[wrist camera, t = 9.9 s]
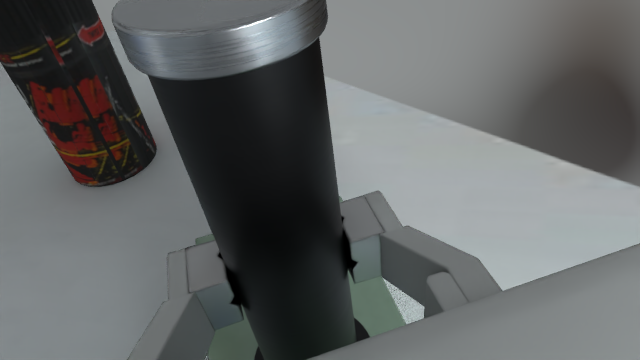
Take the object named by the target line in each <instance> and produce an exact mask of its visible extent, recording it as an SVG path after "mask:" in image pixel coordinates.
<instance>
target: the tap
mask: <svg viewBox="0 0 640 360" xmlns="http://www.w3.org/2000/svg"><path fill="white" fill-rule="evenodd" d="M327 19H328V13H327V4H326V0H120V1H119V2H118V3H117V4H116V5H115V7H114V8H113V11H112V23H113V25H114V27H115V30H116V32H117V34H118V37H119V39H120V41H121V44H122V46H123V48H124V51H125V53H126V55H127V58H128V60H129V62H130V63H131V64H132V65H133V66H134V67H135V68H136V69H137V70H139V71H141V72H142V73H144V74H147V75H148V77H149V79H150V82H151V84H152V87H153V89H154V92H155V94H156V96H157V99H158V101H159V104H160V106H161V109H162V111H163V114H164V116H165V119H166V121H167V123H168V126H169V128H170V131H171V133H172V136H173V138H174V141H175V143H176V145H177V148H178V150H179V153H180V155H181V158H182V160H183V163H184V165H185V167H186V170H187V172H188V175H189V177H190V180H191V182H192V185H193V187H194V189H195V192H196V194H197V197H198V199H199V202H200V204H201V207H202V209H203V211H204V214H205V216H206V219H207V221H208V224H209V226H210V229H211V231H212V233H213V236H214V238H215V241H216V243H217V246H218V248H219V251H220V253H221V255H222V258H223V260H224V263H225V265H226V267H227V270H228V272H229V275H230V277H231V279H232V282H233V285H234V287H235V289H236V292H237V294H238V297H239V299H240V302H241V304H242V307H243V309H244V312H245V314H246V317H247V319H248V321H249V324H250V326H251V329H252V331H253V334H254V336H255V339H256V341H257V343H258V347H257V350H256V353H255V357H254V360H306V359H309V358H312V357H315V356H318V355H321V354H324V353H327V352H329V351H332V350H335V349H338V348H341V347H344V346H347V345H350V344H352V343H355V342H358V341H361V340H364V339H367V338H370V336H369V334H368V332H367V331H366V329H365V328H364V326H363V325H362V324H361V323H360V322H359V321H358V320H357V319H356V318H354V315H353V307H352V299H351V291H350V283H349V275H348V267H347V259H346V251H345V243H344V235H343V227H342V218H341V210H340V202H339V194H338V186H337V178H336V170H335V162H334V154H333V146H332V138H331V130H330V121H329V113H328V105H327V97H326V89H325V81H324V73H323V66H322V57H321V49H320V41H319V36H320V35H321V34H322V32H323V31H324V29H325V27H326V24H327Z"/></svg>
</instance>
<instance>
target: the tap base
mask: <svg viewBox="0 0 640 360" xmlns="http://www.w3.org/2000/svg"><path fill="white" fill-rule="evenodd" d="M339 202H343V200H342V198H341V197H340V196H339ZM212 240H215V238H214V236H213V234H210V235H207V236H203V237H200V238H197V239H196V240H195V241H196V245H198V244H201V243H205V242H209V241H212ZM348 275H349V283H350V291H351V299H352V307H353V315H354V318H356V319H357V320H358V321H359V322H360V323H361V324H362V325H363V326H364V328H365V329H366V331H367V332H368V334H369V336H370V337H372V336H375V335H378V334H381V333H384V332H387V331H390V330H392V329H395V328H398V327H401V326H404V325H406V323H405V321H404V319H403V317H402V315H401V313H400V311H399V309H398V307H397V305H396V303H395V301H394V299H393V298H392V296H391V294H390V292H389V290H388V288H387V286H386V284H385V282H384V280H383V278H382V276H380V277H376V278H373V279H370V280H366V281H363V282H360V283H356V284H354V282H353V280H352V277H351V275H350V273H349V271H348ZM241 305H242V304H241ZM242 311H243V316H244V320H243V321H240V322H238V323H235V324H232V325H229V326H226V327H224V328H221V329H218V330H215V334H214V337H213V339H212V342H211V344H210V347H209V349H208V359H209V360H254V357H255V353H256V350H257V347H258V343H257V341H256V339H255V336H254V334H253V331H252V329H251V326H250V324H249V321H248V319H247V317H246V314H245V312H244V309H243V307H242Z"/></svg>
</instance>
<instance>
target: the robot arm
mask: <svg viewBox="0 0 640 360" xmlns="http://www.w3.org/2000/svg"><path fill="white" fill-rule="evenodd" d="M340 210H341V218H342V227H343V235H344V243H345V251H346V259H347V267H348V271H349V273H350V275H351V277H352V280H353V282H354V284H356V283H360V282H363V281H366V280H370V279H373V278H376V277H380V276H382V277H383V278H384V279H385V280H387V281H388V282H390V283H391V284H393V285H394V286H396V287H397V288H399V289H400V290H401V291H403V292H404V293H406V294H407V295H409V296H410V297H412V298H413V299H414V300H416V301H417V302H419V303H420V304H422V305H423V306H425V309H424V319H421V320H418V321H415V322H412V323H410V324H407V325H404V326H401V327H398V328H395V329H392V330H390V331H387V332H384V333H381V334H378V335H375V336H372V337H370V338H367V339H364V340H361V341H358V342H355V343H352V344H350V345H347V346H344V347H341V348H338V349H335V350H332V351H329V352H327V353H324V354H321V355H318V356H315V357H312V358H309V359H306V360H640V243H639V244H637V245H634V246H631V247H628V248H625V249H622V250H619V251H617V252H614V253H611V254H608V255H605V256H602V257H599V258H596V259H594V260H591V261H588V262H585V263H582V264H579V265H576V266H573V267H571V268H568V269H565V270H562V271H559V272H556V273H553V274H550V275H548V276H545V277H542V278H539V279H536V280H533V281H530V282H527V283H525V284H522V285H519V286H516V287H513V288H510V289H507V290H504V291H502V289H501V288H500V287H499V285H498V284H497V283H496V281H495V280H494V279H493V277H492V276H491V275H490V273H489V272H488V271H487V269H486V268H485V267H484V265H483V264H482V263H481V262H480V260H479V259H478V258H476V257H474V256H472V255H470V254H468V253H465V252H463V251H461V250H459V249H457V248H455V247H453V246H450V245H448V244H446V243H444V242H442V241H440V240H438V239H435V238H433V237H431V236H429V235H427V234H425V233H423V232H421V231H418V230H416V229H414V228H412V227H410V226H404V227H403V226H402V224H401V223H400V221H399V220H398V218H397V217H396V215H395V213H394V212H393V210H392V209H391V207H390V206H389V204H388V202H387V201H386V199H385V198H384V196H383V195H382V193H381V192H380V191H375V192H372V193H369V194H365V195H363V196H359V197H356V198H353V199H349V200H346V201H343V202H340ZM167 279H168V300H167V301H164V302H163V303H162V304H161V306H160V308H159V309H158V311H157V312H156V314H155V315H154V317H153V319H152V320H151V322H150V323H149V325H148V327H147V328H146V330H145V331H144V333H143V335H142V336H141V338H140V339H139V341H138V343H137V344H136V346H135V347H134V349H133V351H132V352H131V354H130V355H129V357H128V359H127V360H204V359H205V357H206V354H207V352H208V349H209V347H210V344H211V342H212V339H213V337H214V334H215V330H218V329H221V328H224V327H226V326H229V325H232V324H235V323H238V322H240V321H243V320H244V316H243V311H242V305H241V302H240V299H239V297H238V294H237V292H236V289H235V287H234V285H233V282H232V279H231V277H230V275H229V272H228V270H227V267H226V265H225V263H224V260H223V258H222V255H221V253H220V251H219V248H218V246H217V243H216V241H215V240H212V241H209V242H205V243H201V244H198V245H194V246H190V247H187V248H185V249H181V250H177V251H173V252H170V253H168V255H167Z"/></svg>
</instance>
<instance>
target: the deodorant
mask: <svg viewBox="0 0 640 360" xmlns="http://www.w3.org/2000/svg"><path fill="white" fill-rule="evenodd" d="M0 62H1V64H2V65H3V67H4V69H5V70H6V72H7V73H8V75H9V76H10V78H11V80H12V81H13V83H14V84H15V86H16V87H17V89H18V91H19V92H20V94H21V95H22V97H23V99H24V100H25V102H26V103H27V105H28V106H29V108H30V110H31V111H32V113H33V114H34V116H35V117H36V119H37V121H38V122H39V124H40V125H41V127H42V128H43V130H44V132H45V133H46V135H47V136H48V138H49V140H50V141H51V143H52V144H53V146H54V147H55V149H56V151H57V152H58V154H59V155H60V157H61V158H62V160H63V162H64V163H65V165H66V166H67V168H68V169H69V171H70V173H71V174H72V176H73V177H74V179H75V181H77V182H78V183H80V184H82V185H86V186H105V185H111V184H114V183H117V182H120V181H123V180H125V179H127V178H129V177H132V176H134V175H135V174H137V173H138V172H140V171H141V170H143V169H144V168H145V167H146V166H147V165H148V164H149V163H150V162H151V161H152V159H153V158H154V156H155V153H156V150H157V148H156V143H155V141H154V139H153V137H152V134H151V132H150V130H149V128H148V125H147V123H146V121H145V119H144V116H143V114H142V112H141V110H140V107H139V105H138V103H137V101H136V98H135V96H134V94H133V92H132V89H131V87H130V85H129V83H128V80H127V78H126V76H125V74H124V71H123V69H122V67H121V65H120V63H119V60H118V58H117V56H116V54H115V51H114V49H113V47H112V45H111V42H110V40H109V38H108V36H107V33H106V31H105V29H104V27H103V25H102V22H101V20H100V18H99V15H98V13H97V11H96V9H95V6H94V4H93V2H92V0H0Z"/></svg>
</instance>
